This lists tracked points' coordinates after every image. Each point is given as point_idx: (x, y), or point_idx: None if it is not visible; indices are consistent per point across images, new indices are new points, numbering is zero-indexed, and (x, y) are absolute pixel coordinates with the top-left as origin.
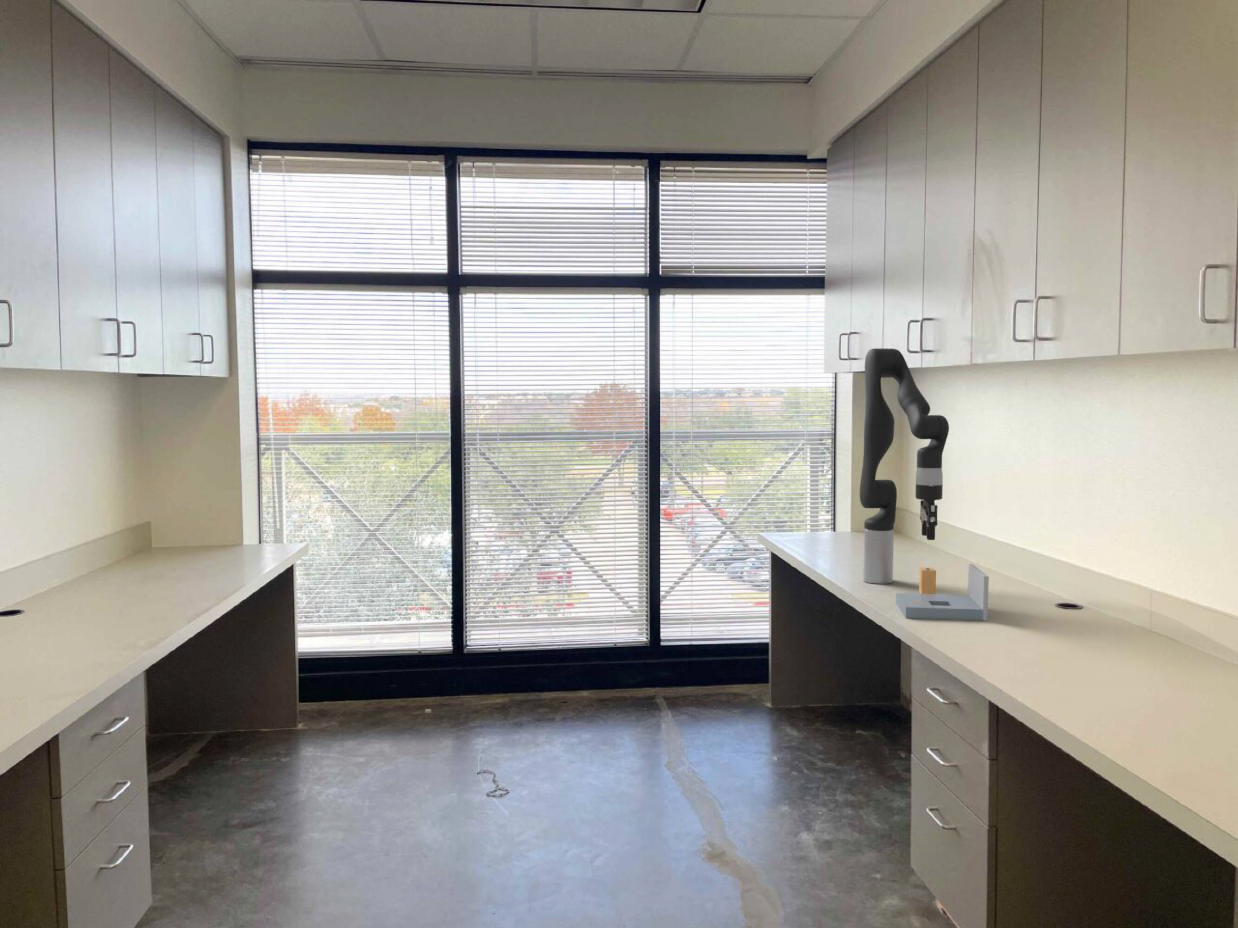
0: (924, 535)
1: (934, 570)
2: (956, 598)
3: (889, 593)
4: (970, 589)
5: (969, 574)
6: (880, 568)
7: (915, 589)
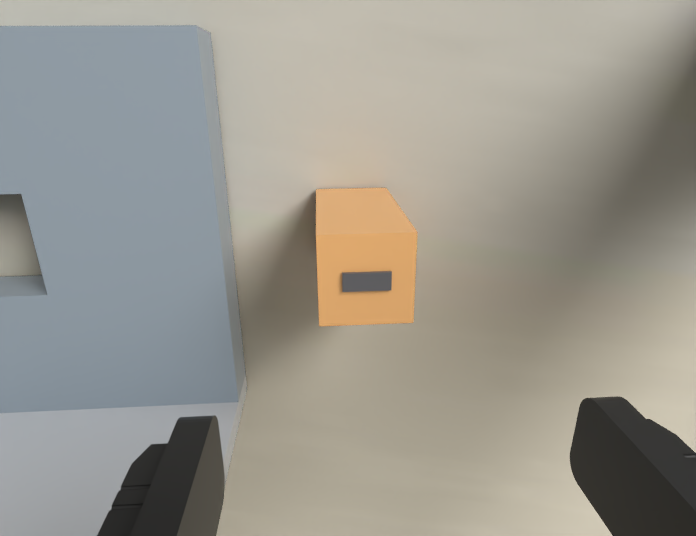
0: (577, 417)
1: (319, 316)
2: (138, 343)
3: (484, 35)
4: None
5: None
6: None
7: (585, 198)
